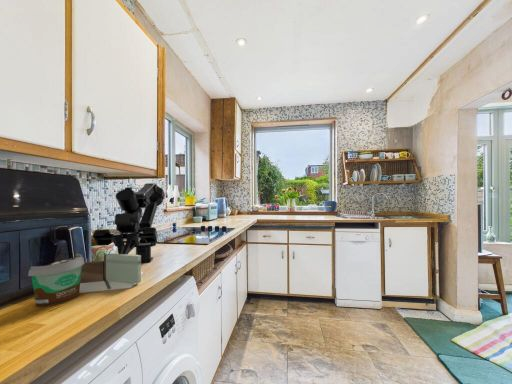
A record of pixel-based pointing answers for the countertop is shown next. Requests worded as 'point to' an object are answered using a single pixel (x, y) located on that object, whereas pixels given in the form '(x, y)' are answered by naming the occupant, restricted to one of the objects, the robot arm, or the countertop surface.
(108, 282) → the card
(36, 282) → the food container
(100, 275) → the fixed fence
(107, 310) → the countertop surface
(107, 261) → the gate panel
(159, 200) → the robot arm
